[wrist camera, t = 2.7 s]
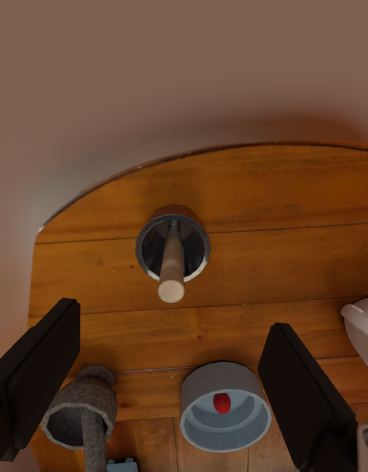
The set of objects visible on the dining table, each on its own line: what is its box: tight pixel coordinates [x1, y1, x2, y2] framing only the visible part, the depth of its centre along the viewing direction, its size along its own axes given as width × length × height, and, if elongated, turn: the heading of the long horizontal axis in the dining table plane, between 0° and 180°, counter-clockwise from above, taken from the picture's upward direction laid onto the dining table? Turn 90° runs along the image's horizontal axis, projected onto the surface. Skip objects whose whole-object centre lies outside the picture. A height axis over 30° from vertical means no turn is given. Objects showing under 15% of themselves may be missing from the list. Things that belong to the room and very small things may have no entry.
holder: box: [135, 204, 211, 282], centre depth 24 cm, size 8×8×7 cm
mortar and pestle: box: [41, 366, 118, 472], centre depth 29 cm, size 11×9×12 cm
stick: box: [158, 227, 184, 303], centre depth 20 cm, size 2×2×14 cm
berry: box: [213, 393, 231, 414], centre depth 34 cm, size 3×3×3 cm
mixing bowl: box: [180, 362, 272, 453], centre depth 34 cm, size 14×14×5 cm
